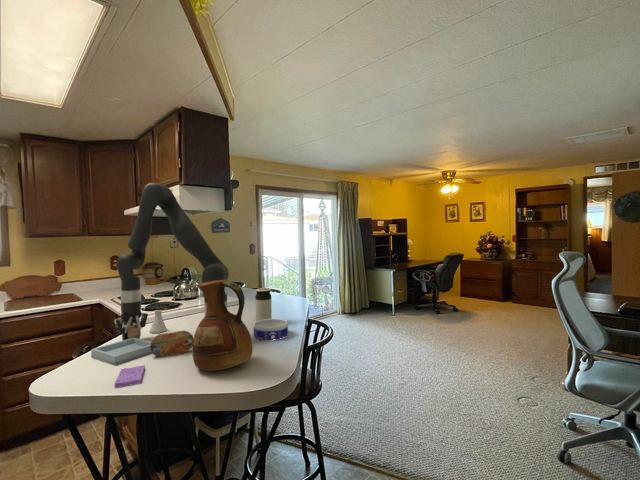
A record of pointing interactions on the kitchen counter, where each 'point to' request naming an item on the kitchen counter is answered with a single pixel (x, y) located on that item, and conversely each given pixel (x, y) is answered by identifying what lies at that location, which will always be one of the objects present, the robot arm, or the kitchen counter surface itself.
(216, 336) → the ceramic pitcher
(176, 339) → the tin
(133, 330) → the walnut block
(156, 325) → the flask
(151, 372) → the kitchen counter surface
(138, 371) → the sponges
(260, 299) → the travel mug
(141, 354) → the tray
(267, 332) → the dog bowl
